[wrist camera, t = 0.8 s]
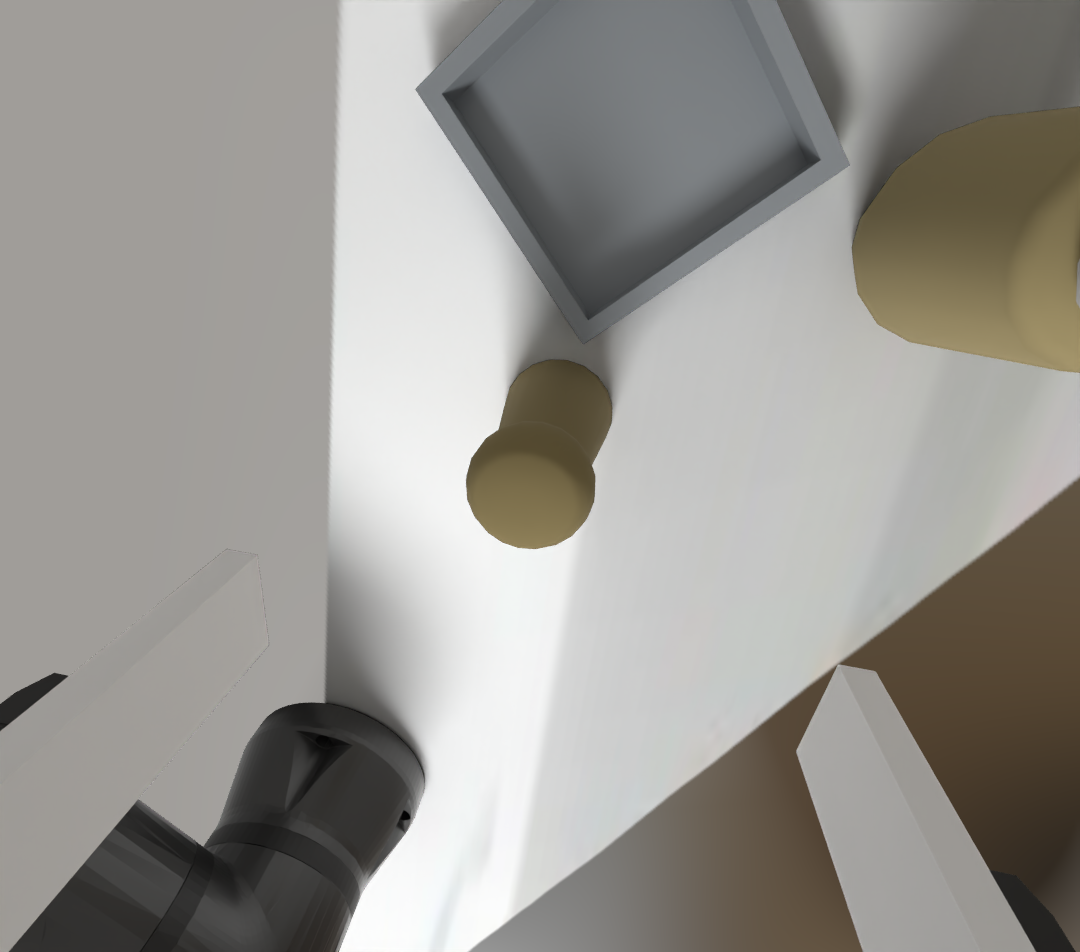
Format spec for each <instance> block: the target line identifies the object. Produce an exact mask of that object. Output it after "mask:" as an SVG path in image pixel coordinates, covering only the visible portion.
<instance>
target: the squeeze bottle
mask: <svg viewBox="0 0 1080 952" xmlns="http://www.w3.org/2000/svg"><path fill="white" fill-rule="evenodd" d="M852 255H853V264H854V273H855V279H856V285H857V291H858V295H859V296H860V298H861V299H862V301H863V302H864V304H865V306H866V307H867V309H868V310H869V312H870V313H871V315H872V316H873V318H874V319H875V321H876V323H877V324H878V325H880V326H882V327H883V328H885V329H887V330H889V331H891V332H892V333H894V334H896V335H898V336H899V337H901V338H903V339H905V340H907V341H908V342H912V343H917V344H922V345H928V346H933V347H938V348H943V349H949V350H954V351H959V352H964V353H970V354H975V355H980V356H985V357H991V358H996V359H1001V360H1007V361H1012V362H1017V363H1022V364H1028V365H1033V366H1038V367H1043V368H1049V369H1054V370H1059V371H1067V372H1078V373H1080V107H1072V108H1063V109H1054V110H1045V111H1036V112H1027V113H1018V114H1009V115H1000V116H991V117H988V118H985V119H982V120H979V121H976V122H974V123H971V124H968V125H965V126H962V127H959V128H957V129H954V130H951V131H948V132H945V133H943V134H940V135H939V136H937V137H936V138H935V139H933V140H932V141H931V142H930V143H928V144H927V145H926V146H924V147H923V148H922V149H920V150H919V151H918V152H917V153H915V154H914V155H913V156H911V157H910V158H909V159H908V160H906V161H905V162H904V163H902V164H901V165H900V166H898V167H897V168H896V169H895V171H894V172H893V174H892V175H891V176H890V178H889V179H888V180H887V182H886V183H885V185H884V186H883V187H882V189H881V190H880V191H879V193H878V194H877V196H876V197H875V198H874V200H873V201H872V203H871V204H870V206H869V207H868V208H867V210H866V211H865V213H864V214H863V216H862V217H861V218H860V221H859V224H858V227H857V231H856V234H855V238H854V241H853V245H852Z"/></svg>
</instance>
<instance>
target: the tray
mask: <svg viewBox="0 0 1080 952" xmlns="http://www.w3.org/2000/svg"><path fill="white" fill-rule="evenodd" d="M416 91H417V92H418V94H419V96H420V97H421V99H422V100H423V102H424V103H425V105H426V106H427V108H428V109H429V111H430V112H431V114H432V115H433V117H434V118H435V120H436V121H437V123H438V124H439V126H440V127H441V129H442V131H443V132H444V134H445V135H446V137H447V138H448V140H449V141H450V143H451V144H452V146H453V147H454V149H455V150H456V152H457V153H458V155H459V156H460V158H461V159H462V161H463V162H464V164H465V166H466V167H467V169H468V170H469V172H470V173H471V175H472V176H473V178H474V179H475V181H476V182H477V184H478V185H479V187H480V188H481V190H482V191H483V193H484V194H485V196H486V197H487V199H488V201H489V202H490V204H491V205H492V207H493V208H494V210H495V211H496V213H497V214H498V216H499V217H500V219H501V220H502V222H503V223H504V225H505V226H506V228H507V229H508V231H509V233H510V234H511V236H512V237H513V239H514V240H515V242H516V243H517V245H518V246H519V248H520V249H521V251H522V252H523V254H524V255H525V257H526V258H527V260H528V261H529V263H530V264H531V266H532V268H533V269H534V271H535V272H536V274H537V275H538V277H539V278H540V280H541V281H542V283H543V284H544V286H545V287H546V289H547V290H548V292H549V293H550V295H551V296H552V298H553V299H554V301H555V303H556V304H557V306H558V307H559V309H560V310H561V312H562V313H563V315H564V316H565V318H566V319H567V321H568V322H569V324H570V325H571V327H572V328H573V330H574V331H575V333H576V334H577V336H578V338H579V339H580V341H581V342H582V344H585V343H586V342H588V341H589V340H591V339H592V338H594V337H595V336H597V335H598V334H600V333H601V332H603V331H604V330H606V329H607V328H609V327H610V326H612V325H613V324H614V323H616V322H617V321H619V320H620V319H622V318H623V317H625V316H626V315H628V314H629V313H631V312H632V311H634V310H635V309H637V308H638V307H640V306H641V305H643V304H644V303H646V302H647V301H649V300H650V299H652V298H653V297H655V296H656V295H658V294H659V293H661V292H662V291H664V290H665V289H667V288H668V287H670V286H671V285H672V284H674V283H675V282H677V281H678V280H680V279H681V278H683V277H684V276H686V275H687V274H689V273H690V272H692V271H693V270H695V269H696V268H698V267H699V266H701V265H702V264H704V263H705V262H707V261H708V260H710V259H711V258H713V257H714V256H716V255H717V254H719V253H720V252H722V251H723V250H725V249H726V248H728V247H729V246H731V245H732V244H733V243H735V242H736V241H738V240H739V239H741V238H742V237H744V236H745V235H747V234H748V233H750V232H751V231H753V230H754V229H756V228H757V227H759V226H760V225H762V224H763V223H765V222H766V221H768V220H769V219H771V218H772V217H774V216H775V215H777V214H778V213H780V212H781V211H783V210H784V209H786V208H787V207H789V206H790V205H791V204H793V203H794V202H796V201H797V200H799V199H800V198H802V197H803V196H805V195H806V194H808V193H809V192H811V191H812V190H814V189H815V188H817V187H818V186H820V185H821V184H823V183H824V182H826V181H827V180H829V179H830V178H832V177H833V176H835V175H836V174H838V173H839V172H841V171H842V170H844V169H845V168H847V167H848V166H849V165H850V164H849V162H848V159H847V157H846V155H845V153H844V150H843V148H842V146H841V144H840V141H839V139H838V137H837V135H836V133H835V130H834V128H833V126H832V124H831V121H830V119H829V117H828V115H827V112H826V110H825V108H824V106H823V104H822V101H821V99H820V97H819V95H818V92H817V90H816V88H815V86H814V83H813V81H812V79H811V77H810V75H809V72H808V70H807V68H806V66H805V63H804V61H803V59H802V57H801V55H800V52H799V50H798V48H797V46H796V43H795V41H794V39H793V37H792V34H791V32H790V30H789V28H788V26H787V23H786V21H785V19H784V17H783V14H782V12H781V10H780V8H779V5H778V3H777V1H776V0H503V1H502V2H501V3H500V4H499V5H498V6H497V7H496V8H495V9H494V10H493V11H492V12H491V13H490V14H489V15H488V16H487V17H486V18H485V19H484V20H483V21H482V22H481V23H480V24H479V25H478V26H477V27H476V28H475V29H474V30H473V31H472V32H471V33H470V34H469V35H468V36H467V37H466V38H465V39H464V40H463V41H462V42H461V43H460V44H459V45H458V46H457V47H456V49H455V50H454V51H453V52H452V53H451V54H450V55H449V56H448V57H447V58H446V59H445V60H444V61H443V62H442V63H441V64H440V65H439V66H438V67H437V68H436V69H435V70H434V71H433V72H432V73H431V74H430V75H429V76H428V77H427V78H426V79H425V80H424V81H423V82H422V83H421V84H420V85H419V86H418V87H417V88H416Z"/></svg>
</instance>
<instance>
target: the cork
mask: <svg viewBox="0 0 1080 952" xmlns="http://www.w3.org/2000/svg"><path fill="white" fill-rule="evenodd" d="M611 422H612V405H611V401H610V398H609V394H608V391H607V389H606V388H605V386H604V385H603V384H602V382H601V381H600V379H599V378H598V377H597V376H596V375H595V374H594V373H592V372H591V371H590V370H588V369H587V368H586V367H584V366H582V365H579V364H577V363H574V362H571V361H568V360H547V361H544V362H540V363H537V364H534V365H532V366H530V367H529V368H528V369H526V370H525V371H523V372H522V373H521V374H519V376H518V377H517V378H516V380H515V381H514V383H513V384H512V385H511V387H510V389H509V392H508V396H507V399H506V402H505V406H504V410H503V414H502V418H501V422H500V426H499V430H498V431H496V432H495V433H493V434H492V435H490V436H489V437H487V438H486V439H485V440H484V442H483V443H482V445H481V446H480V447H479V449H478V450H477V452H476V453H475V454H474V456H473V457H472V458H471V462H470V466H469V469H468V473H467V478H466V487H467V500H468V502H469V505H470V507H471V509H472V512H473V514H474V516H475V518H476V519H477V520H478V521H479V522H480V524H481V525H482V526H483V527H484V528H485V530H486V531H487V532H488V533H489V534H491V535H492V536H494V537H495V538H497V539H498V540H500V541H501V542H503V543H506V544H509V545H512V546H515V547H517V548H528V549H538V548H543V547H548V546H553V545H557V544H558V543H560V542H562V541H564V540H566V539H568V538H569V537H571V536H572V535H573V534H574V533H575V532H576V531H577V530H578V529H579V528H580V526H581V525H582V524H583V523H584V522H585V520H586V519H587V517H588V515H589V513H590V510H591V508H592V505H593V503H594V497H595V474H594V471H593V468H592V464H593V462H594V460H595V458H596V456H597V454H598V452H599V450H600V448H601V446H602V444H603V442H604V440H605V438H606V436H607V433H608V431H609V428H610V426H611Z"/></svg>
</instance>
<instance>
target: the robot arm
mask: <svg viewBox="0 0 1080 952" xmlns="http://www.w3.org/2000/svg"><path fill="white" fill-rule="evenodd" d="M268 646H269V639H268V631H267V624H266V616H265V608H264V601H263V593H262V585H261V578H260V570H259V562H258V555H256V554H251V553H246V552H240V551H235V550H230V549H226V550H225V551H223V552H222V553H221V554H220V555H218V556H217V557H216V558H215V559H213V560H212V561H211V562H210V563H208V564H207V565H206V566H205V567H203V568H202V569H201V570H200V571H198V572H197V573H196V574H195V575H193V576H192V577H191V578H190V579H189V580H187V581H186V582H185V583H184V584H182V585H181V586H180V587H179V588H177V589H176V590H175V591H174V592H172V593H171V594H170V595H169V596H167V597H166V598H165V599H164V600H163V601H161V602H160V603H159V604H158V605H156V606H155V607H154V608H153V609H151V610H150V611H149V612H148V613H147V614H145V615H144V616H143V617H142V618H141V619H139V620H138V621H137V622H135V623H134V624H133V625H132V626H130V627H129V628H128V629H127V630H126V631H124V632H123V633H122V634H120V635H119V636H118V637H117V638H115V639H114V640H113V641H112V642H110V643H109V644H108V645H107V646H105V647H104V648H103V649H102V650H101V651H99V652H98V653H97V654H95V655H94V656H93V657H92V658H91V659H89V660H88V661H87V662H86V663H84V664H83V665H82V666H81V667H79V669H77V670H76V671H74V672H73V673H72V674H71V675H69V676H66V675H61V674H57V673H53V674H51V675H49V676H47V677H45V678H43V679H41V680H40V681H38V682H35V683H33V684H31V685H29V686H28V687H25V688H23V689H21V690H20V691H17V692H16V693H14V694H13V695H12V696H10V697H9V698H8V699H6V700H5V701H4V702H2V703H1V704H0V952H339V950H340V947H341V945H342V942H343V940H344V937H345V934H346V932H347V929H348V927H349V924H350V921H351V919H352V916H353V914H354V911H355V909H356V906H357V904H358V902H359V899H360V897H361V895H362V892H363V890H364V889H365V887H366V886H367V884H368V883H369V882H370V880H371V879H372V878H373V876H374V875H375V874H376V872H377V871H378V870H379V868H380V867H381V866H382V864H383V863H384V861H385V860H386V859H387V857H388V856H389V855H390V853H391V852H392V851H393V849H394V848H395V847H396V845H397V844H398V843H399V841H400V840H401V839H402V837H403V836H404V835H405V833H406V832H407V830H408V829H409V827H410V826H411V824H412V822H413V820H414V818H415V815H416V812H417V810H418V807H419V804H420V801H421V799H422V796H423V792H424V777H423V772H422V769H421V767H420V764H419V762H418V761H417V759H416V757H415V756H414V754H413V753H412V751H411V750H410V749H409V748H408V746H407V745H406V744H405V743H404V742H403V741H402V740H401V739H400V738H399V737H398V736H397V735H395V734H394V733H393V732H392V731H390V730H389V729H388V728H386V727H385V726H383V725H382V724H380V723H378V722H377V721H375V720H373V719H371V718H370V717H367V716H365V715H363V714H361V713H358V712H356V711H353V710H350V709H347V708H344V707H340V706H336V705H331V704H325V703H298V704H293V705H288V706H285V707H282V708H280V709H278V710H276V711H274V712H273V713H272V714H270V715H269V716H268V717H267V718H266V719H265V720H264V721H263V723H262V724H261V725H260V727H259V728H258V730H257V731H256V733H255V734H254V735H253V736H252V738H251V739H250V741H249V742H248V744H247V746H246V748H245V750H244V752H243V755H242V758H241V761H240V763H239V766H238V769H237V772H236V775H235V778H234V781H233V784H232V786H231V789H230V792H229V795H228V798H227V801H226V804H225V807H224V809H223V813H222V815H221V818H220V821H219V823H218V825H217V827H216V829H215V830H214V832H213V833H212V835H211V836H210V838H209V839H208V841H207V842H206V844H205V845H204V847H203V846H201V845H200V844H198V843H197V842H196V841H195V840H193V839H192V838H191V837H189V836H188V835H187V834H185V833H184V832H183V831H181V830H180V829H178V828H177V827H176V826H174V825H173V824H172V823H170V822H169V821H167V820H166V819H165V818H163V817H162V816H161V815H159V814H158V813H156V812H155V811H154V810H152V809H151V808H150V807H148V806H147V805H146V804H144V803H143V802H142V801H140V800H139V798H140V797H141V795H142V794H143V793H144V792H145V791H146V789H147V788H148V787H149V786H150V785H151V784H152V782H153V781H154V780H155V779H156V778H157V777H158V775H159V774H160V773H161V772H162V771H163V769H164V768H165V767H166V766H167V765H168V764H169V762H170V761H171V760H172V759H173V758H174V757H175V755H176V754H177V753H178V752H179V751H180V750H181V748H182V747H183V746H184V745H185V743H186V742H187V741H188V740H189V739H190V738H191V737H192V735H193V734H194V733H195V732H196V731H197V730H198V728H199V727H200V726H201V725H202V723H203V722H204V721H205V720H206V719H207V718H208V717H209V715H210V714H211V713H212V712H213V711H214V710H215V708H216V707H217V706H218V705H219V703H220V702H221V701H222V700H223V699H224V698H225V697H226V695H227V694H228V693H229V692H230V691H231V689H232V688H233V687H234V686H235V685H236V684H237V682H238V681H239V680H240V679H241V678H242V676H243V675H244V674H245V673H246V672H247V671H248V669H249V668H250V667H251V666H252V665H253V664H254V662H255V661H256V660H257V659H258V658H259V657H260V655H261V654H262V653H263V652H264V651H265V650H266V648H267V647H268ZM796 752H797V755H798V758H799V761H800V764H801V767H802V770H803V773H804V776H805V779H806V782H807V785H808V788H809V791H810V794H811V797H812V800H813V803H814V806H815V809H816V812H817V815H818V818H819V821H820V824H821V827H822V830H823V833H824V836H825V839H826V842H827V845H828V848H829V851H830V854H831V857H832V860H833V863H834V866H835V869H836V872H837V875H838V878H839V881H840V884H841V887H842V890H843V893H844V896H845V899H846V902H847V905H848V908H849V911H850V914H851V917H852V920H853V923H854V926H855V929H856V932H857V935H858V938H859V941H860V944H861V947H862V950H863V952H1076V951H1075V950H1074V948H1073V947H1072V945H1071V944H1070V942H1069V940H1068V939H1067V937H1066V936H1065V934H1064V932H1063V931H1062V929H1061V928H1060V926H1059V924H1058V923H1057V921H1056V920H1055V918H1054V916H1053V915H1052V914H1051V913H1050V912H1049V911H1048V910H1047V909H1046V908H1045V906H1044V905H1043V904H1042V903H1041V902H1040V901H1039V900H1038V899H1037V898H1036V897H1035V896H1034V895H1033V893H1032V892H1031V891H1030V890H1029V889H1028V888H1027V887H1026V886H1025V885H1024V884H1023V883H1022V881H1021V880H1020V879H1019V878H1018V877H1017V876H1016V875H1011V874H1006V873H1002V872H997V871H991V870H989V869H988V867H987V865H986V864H985V862H984V860H983V858H982V857H981V855H980V853H979V851H978V850H977V848H976V846H975V844H974V843H973V841H972V839H971V837H970V836H969V834H968V832H967V831H966V829H965V827H964V825H963V824H962V822H961V820H960V818H959V817H958V815H957V813H956V811H955V810H954V808H953V807H952V804H951V803H950V801H949V799H948V797H947V796H946V794H945V792H944V790H943V789H942V787H941V785H940V783H939V782H938V780H937V778H936V776H935V775H934V773H933V771H932V769H931V768H930V766H929V764H928V762H927V761H926V759H925V757H924V755H923V754H922V752H921V751H920V748H919V747H918V745H917V743H916V741H915V740H914V738H913V736H912V735H911V733H910V732H909V729H908V728H907V726H906V724H905V722H904V721H903V719H902V717H901V715H900V714H899V712H898V710H897V708H896V707H895V705H894V703H893V701H892V700H891V698H890V696H889V694H888V693H887V691H886V689H885V687H884V686H883V684H882V682H881V681H880V679H879V677H878V675H877V673H876V672H875V671H870V670H865V669H860V668H854V667H849V666H844V665H839V664H838V666H837V668H836V670H835V673H834V674H833V677H832V679H831V681H830V683H829V685H828V687H827V689H826V691H825V693H824V695H823V697H822V699H821V701H820V703H819V705H818V707H817V710H816V712H815V714H814V716H813V718H812V720H811V722H810V724H809V726H808V728H807V730H806V732H805V734H804V736H803V739H802V741H801V743H800V745H799V747H798V749H797V751H796Z"/></svg>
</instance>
